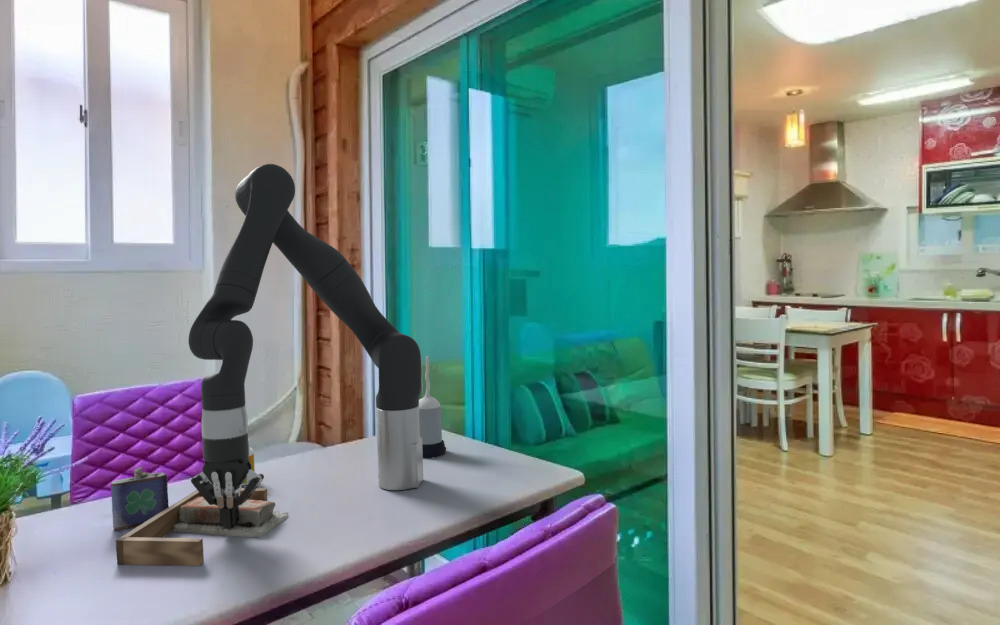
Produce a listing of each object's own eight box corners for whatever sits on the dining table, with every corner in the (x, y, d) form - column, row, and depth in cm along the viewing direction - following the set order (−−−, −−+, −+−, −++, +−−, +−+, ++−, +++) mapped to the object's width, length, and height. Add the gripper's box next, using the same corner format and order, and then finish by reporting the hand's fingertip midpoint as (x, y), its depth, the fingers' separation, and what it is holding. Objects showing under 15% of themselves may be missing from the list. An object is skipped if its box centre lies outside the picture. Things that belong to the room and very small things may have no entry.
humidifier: (451, 452, 161) (449, 355, 159) (427, 460, 155) (425, 359, 153) (430, 447, 166) (427, 353, 165) (406, 454, 160) (403, 357, 158)
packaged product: (169, 508, 114) (204, 490, 124) (170, 534, 115) (205, 514, 124) (259, 514, 111) (288, 494, 121) (260, 540, 111) (289, 519, 121)
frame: (267, 508, 125) (266, 488, 125) (199, 565, 101) (198, 541, 100) (200, 507, 126) (199, 488, 126) (117, 564, 102) (115, 540, 102)
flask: (113, 532, 115) (109, 474, 114) (113, 526, 117) (110, 470, 117) (170, 521, 120) (167, 465, 119) (169, 516, 122) (166, 462, 122)
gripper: (270, 426, 115) (274, 519, 116) (201, 426, 116) (205, 518, 117) (251, 437, 107) (255, 536, 109) (177, 437, 108) (182, 534, 110)
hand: (229, 526), depth 113 cm, fingers closed
